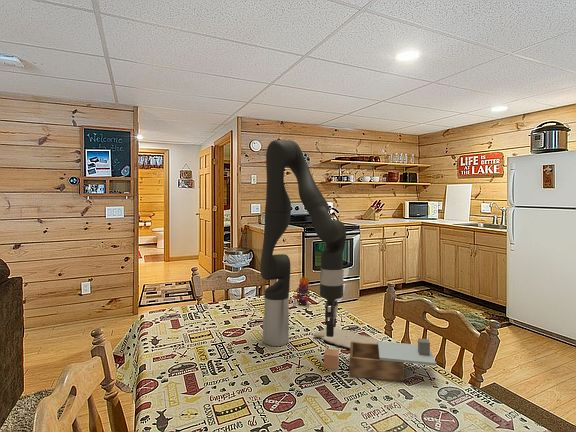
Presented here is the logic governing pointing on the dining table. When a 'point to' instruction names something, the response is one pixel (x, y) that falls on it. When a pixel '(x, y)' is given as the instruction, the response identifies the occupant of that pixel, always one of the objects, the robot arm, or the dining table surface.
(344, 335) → the stone tool
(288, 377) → the dining table surface
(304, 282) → the figurine
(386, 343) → the lid
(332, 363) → the cube
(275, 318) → the robot arm
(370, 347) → the brown wooden box
